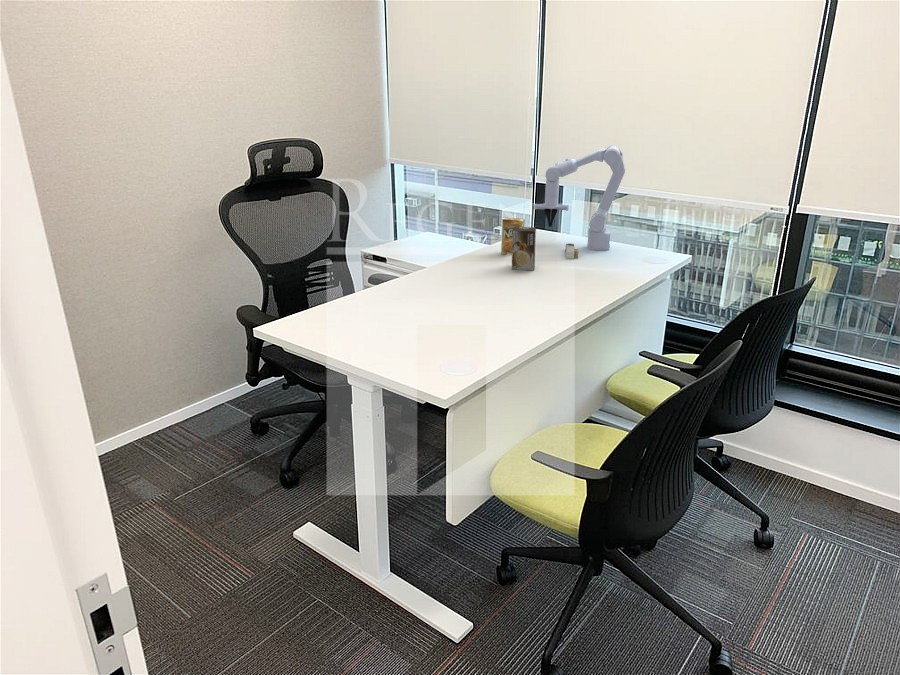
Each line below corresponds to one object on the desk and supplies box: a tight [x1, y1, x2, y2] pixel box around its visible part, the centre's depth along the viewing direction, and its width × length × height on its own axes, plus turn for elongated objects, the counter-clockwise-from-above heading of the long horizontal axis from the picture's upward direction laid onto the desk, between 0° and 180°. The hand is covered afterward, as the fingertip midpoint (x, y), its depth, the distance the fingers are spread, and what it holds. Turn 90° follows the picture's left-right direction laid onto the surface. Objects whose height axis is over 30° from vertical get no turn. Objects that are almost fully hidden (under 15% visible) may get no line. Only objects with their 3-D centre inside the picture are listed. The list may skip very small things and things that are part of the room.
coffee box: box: [511, 226, 537, 271], centre depth 282 cm, size 9×6×16 cm
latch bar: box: [565, 243, 575, 260], centre depth 297 cm, size 13×4×3 cm, turn 172°
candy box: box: [500, 216, 526, 255], centre depth 300 cm, size 9×4×15 cm, turn 70°
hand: (550, 226), depth 308 cm, fingers closed
